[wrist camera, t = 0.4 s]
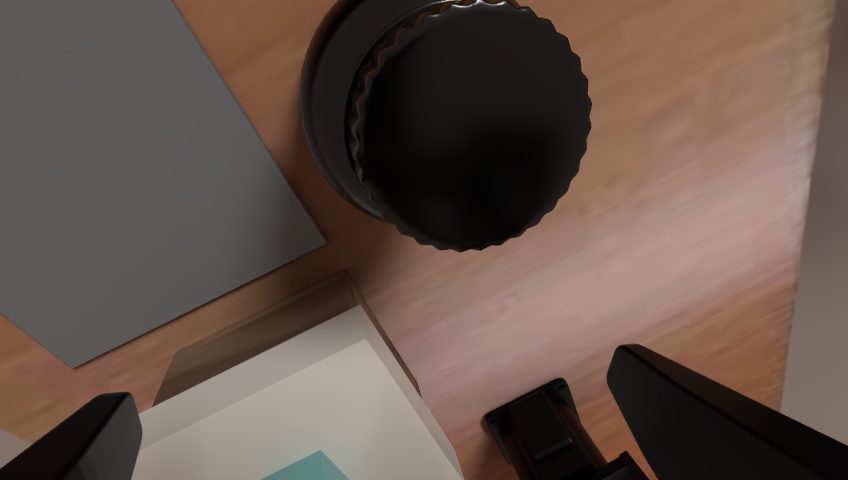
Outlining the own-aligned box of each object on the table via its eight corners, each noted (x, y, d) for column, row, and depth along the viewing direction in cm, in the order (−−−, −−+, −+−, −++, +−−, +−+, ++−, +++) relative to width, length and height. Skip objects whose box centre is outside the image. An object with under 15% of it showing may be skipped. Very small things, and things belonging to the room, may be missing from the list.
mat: (326, 240, 21) (326, 243, 20) (76, 363, 21) (72, 368, 20) (120, -83, 14) (114, -86, 13) (-261, 99, 14) (-275, 100, 13)
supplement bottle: (479, 117, 20) (658, 214, 10) (353, 181, 20) (395, 348, 9) (424, -41, 16) (611, -161, 6) (271, 35, 16) (197, 47, 6)
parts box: (417, 382, 27) (441, 467, 22) (279, 451, 27) (271, 553, 22) (344, 269, 22) (354, 344, 17) (175, 353, 22) (131, 454, 17)
